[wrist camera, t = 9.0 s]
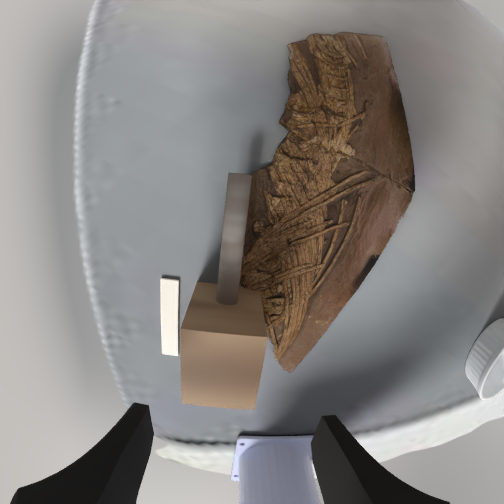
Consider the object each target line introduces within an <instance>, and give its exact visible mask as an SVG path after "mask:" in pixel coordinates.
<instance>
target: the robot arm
mask: <svg viewBox="0 0 504 504" xmlns="http://www.w3.org/2000/svg"><path fill="white" fill-rule="evenodd" d="M153 436H154V432H153V427H152V422H151V416H150V410H149V405H144V404H139V403H133V404H132V405H131V407H130V408H129V409H128V410H127V412H126V413H125V414H124V415H123V417H122V418H121V419H120V420H119V421H118V422H117V424H116V425H115V426H114V427H113V428H112V429H111V430H110V431H109V432H108V433H107V434H106V435H105V437H103V439H101V440H100V441H99V442H98V443H97V444H96V445H95V446H94V447H93V448H92V449H90V450H89V451H88V452H87V453H86V454H84V455H83V456H82V457H81V458H79V459H78V460H76V461H75V462H74V463H72V464H71V465H69V466H67V467H66V468H64V469H63V470H61V471H59V472H57V473H56V474H53V475H52V476H49V477H47V478H45V479H43V480H41V481H38V482H36V483H33V484H30V485H27V486H24V487H21V488H19V489H18V490H17V491H16V493H15V494H14V496H13V498H12V501H11V503H10V504H136V500H137V495H138V491H139V488H140V485H141V482H142V479H143V475H144V472H145V469H146V466H147V463H148V459H149V456H150V452H151V447H152V442H153ZM311 457H312V459H313V464H314V468H315V471H316V475H317V479H318V482H319V486H320V489H321V493H322V496H323V500H324V504H450V503H449V502H447V501H444V500H441V499H438V498H435V497H432V496H430V495H428V494H425V493H423V492H421V491H419V490H417V489H415V488H413V487H412V486H410V485H408V484H406V483H405V482H403V481H401V480H400V479H398V478H397V477H395V476H394V475H393V474H391V473H390V472H389V471H387V470H386V469H385V468H384V467H383V466H381V465H380V464H379V463H378V462H377V461H376V460H375V459H374V458H373V457H372V456H371V455H370V454H369V453H368V452H367V451H366V450H365V449H364V448H363V447H362V446H361V445H360V444H359V443H358V442H357V440H356V439H355V438H354V437H353V436H352V435H351V433H350V432H349V431H348V430H347V429H346V427H345V426H344V425H343V424H342V423H341V421H340V420H339V419H338V418H337V416H336V415H329V416H322V417H321V420H320V422H319V424H318V427H317V429H316V432H315V434H314V435H308V436H239V437H238V438H237V443H236V449H235V455H234V462H233V468H232V474H231V480H232V481H239V504H320V500H319V496H318V491H317V487H316V482H315V478H314V474H313V470H312V466H311V461H310V459H311Z"/></svg>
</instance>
